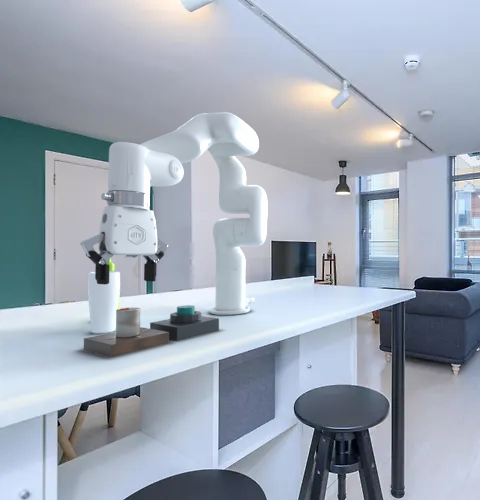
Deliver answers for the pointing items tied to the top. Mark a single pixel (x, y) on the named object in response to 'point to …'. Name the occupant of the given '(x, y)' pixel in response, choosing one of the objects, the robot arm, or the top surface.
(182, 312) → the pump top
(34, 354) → the top surface
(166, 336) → the panel
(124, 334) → the lock knob
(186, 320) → the button base
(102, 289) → the white lotion bottle
